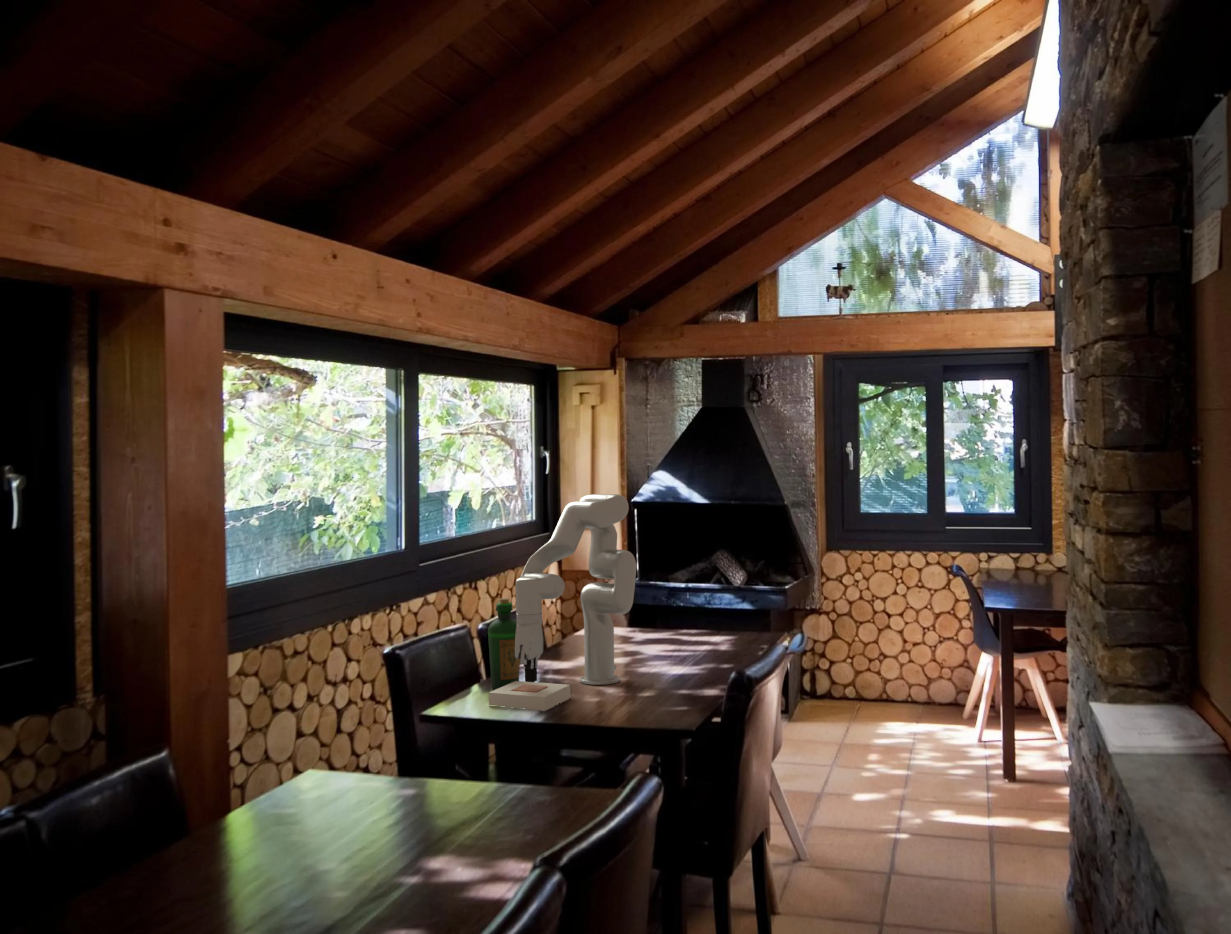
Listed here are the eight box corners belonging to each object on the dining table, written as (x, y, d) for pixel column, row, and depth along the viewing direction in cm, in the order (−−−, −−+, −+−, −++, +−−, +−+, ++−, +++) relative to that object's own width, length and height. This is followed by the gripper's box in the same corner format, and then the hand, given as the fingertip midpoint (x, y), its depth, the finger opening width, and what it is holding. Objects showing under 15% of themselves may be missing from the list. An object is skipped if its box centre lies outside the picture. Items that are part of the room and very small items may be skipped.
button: (524, 697, 305) (524, 684, 305) (547, 699, 302) (547, 686, 302) (512, 703, 298) (512, 689, 298) (535, 705, 295) (535, 691, 295)
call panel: (516, 694, 311) (516, 680, 311) (570, 698, 304) (569, 684, 304) (488, 706, 295) (488, 692, 295) (544, 711, 289) (544, 696, 289)
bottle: (516, 692, 313) (515, 601, 313) (483, 691, 315) (482, 600, 315) (526, 685, 324) (525, 596, 324) (494, 684, 326) (493, 596, 326)
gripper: (529, 614, 308) (531, 675, 309) (505, 622, 295) (507, 686, 295) (551, 615, 306) (553, 676, 306) (529, 623, 292) (531, 687, 292)
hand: (531, 681), depth 300 cm, fingers closed
